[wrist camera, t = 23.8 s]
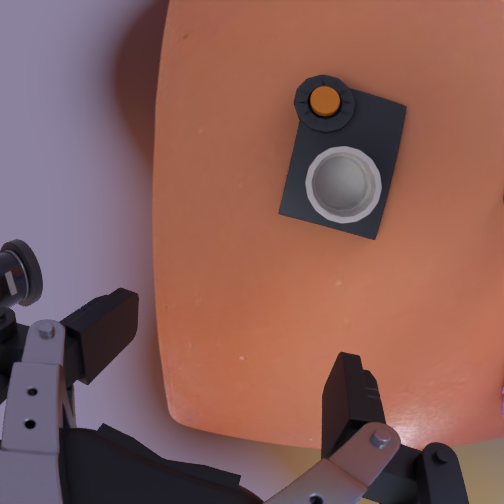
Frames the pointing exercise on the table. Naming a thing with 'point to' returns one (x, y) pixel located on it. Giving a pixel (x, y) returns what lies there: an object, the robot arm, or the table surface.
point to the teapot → (503, 403)
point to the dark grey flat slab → (342, 134)
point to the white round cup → (343, 184)
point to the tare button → (325, 101)
